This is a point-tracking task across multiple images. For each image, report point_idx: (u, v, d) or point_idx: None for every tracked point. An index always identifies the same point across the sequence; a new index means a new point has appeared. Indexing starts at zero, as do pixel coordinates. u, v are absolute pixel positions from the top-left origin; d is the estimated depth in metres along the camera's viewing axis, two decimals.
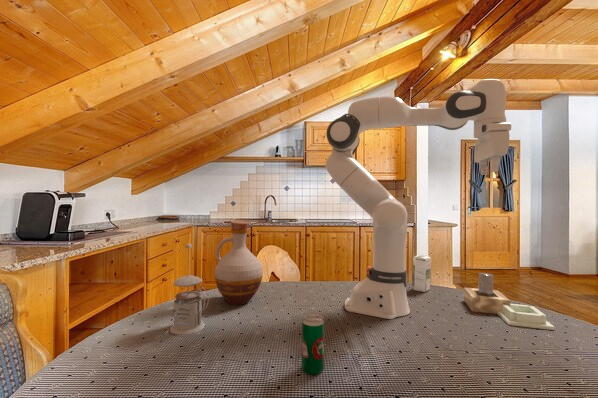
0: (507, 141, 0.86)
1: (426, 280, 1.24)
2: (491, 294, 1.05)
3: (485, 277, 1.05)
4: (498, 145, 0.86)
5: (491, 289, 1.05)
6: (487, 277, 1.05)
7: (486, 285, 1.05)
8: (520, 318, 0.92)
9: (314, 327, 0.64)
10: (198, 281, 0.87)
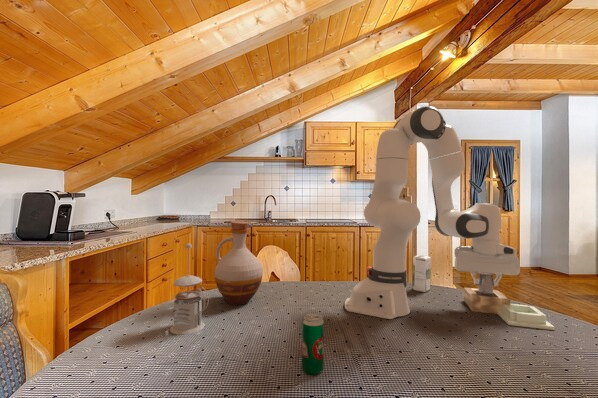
0: None
1: (426, 280, 1.24)
2: (491, 294, 1.05)
3: (485, 277, 1.05)
4: None
5: (491, 289, 1.05)
6: (487, 277, 1.05)
7: (486, 285, 1.05)
8: (520, 318, 0.92)
9: (314, 327, 0.64)
10: (198, 281, 0.87)
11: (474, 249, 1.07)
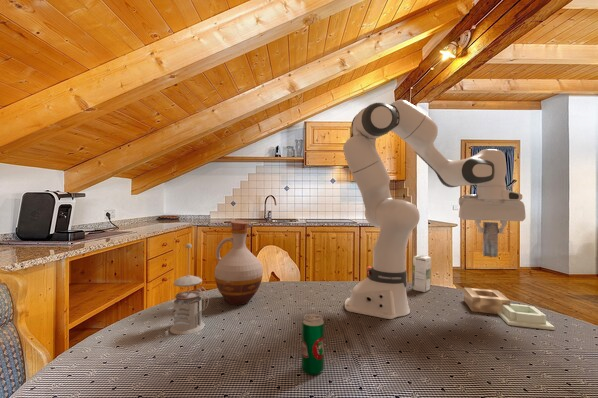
0: None
1: (426, 280, 1.24)
2: (496, 241, 1.04)
3: (490, 224, 1.04)
4: None
5: (496, 236, 1.04)
6: (492, 224, 1.04)
7: (491, 232, 1.04)
8: (520, 318, 0.92)
9: (314, 327, 0.64)
10: (198, 281, 0.87)
11: (479, 197, 1.06)
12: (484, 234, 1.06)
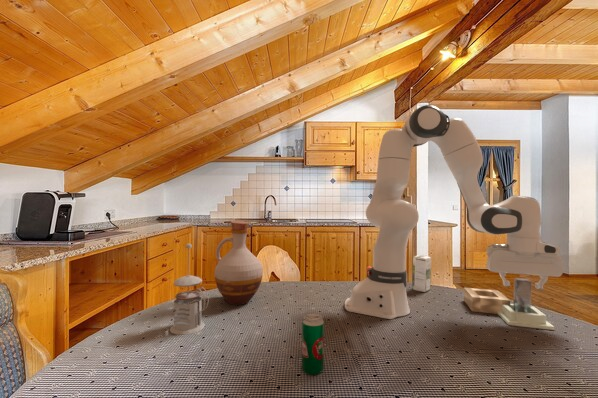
0: None
1: (426, 280, 1.24)
2: (529, 302, 0.94)
3: (522, 283, 0.94)
4: None
5: (529, 296, 0.94)
6: (525, 283, 0.94)
7: (524, 292, 0.94)
8: (520, 318, 0.92)
9: (314, 327, 0.64)
10: (198, 281, 0.87)
11: (510, 247, 0.96)
12: (515, 293, 0.96)
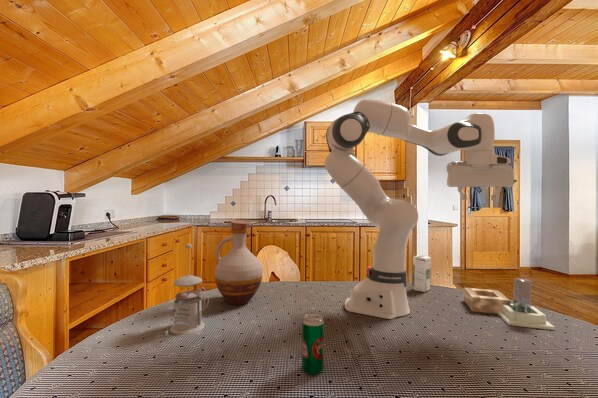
0: None
1: (426, 280, 1.24)
2: (529, 302, 0.94)
3: (522, 283, 0.94)
4: None
5: (529, 297, 0.94)
6: (525, 283, 0.94)
7: (524, 292, 0.94)
8: (520, 318, 0.92)
9: (314, 327, 0.64)
10: (198, 281, 0.87)
11: (467, 163, 1.03)
12: (515, 293, 0.96)
